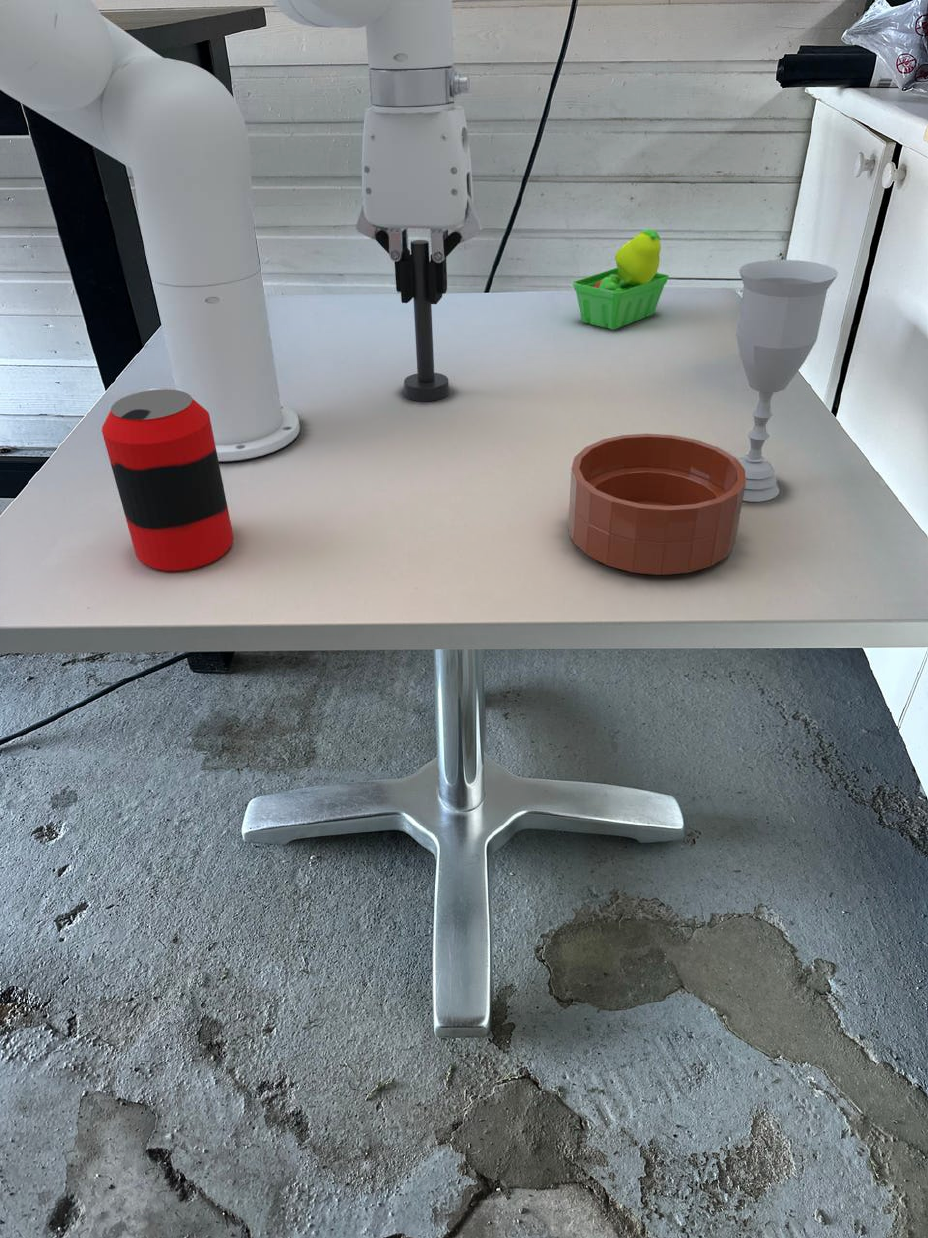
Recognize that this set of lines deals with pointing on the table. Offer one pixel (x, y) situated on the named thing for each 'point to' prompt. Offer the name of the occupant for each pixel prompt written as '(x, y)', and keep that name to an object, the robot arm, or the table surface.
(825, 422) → the table surface
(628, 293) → the fruit basket
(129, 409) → the soda can
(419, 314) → the upright rod on disc
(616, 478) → the bowl
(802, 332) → the chalice
